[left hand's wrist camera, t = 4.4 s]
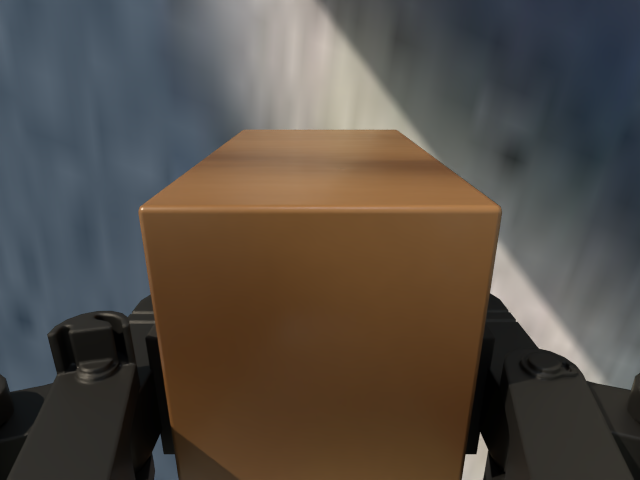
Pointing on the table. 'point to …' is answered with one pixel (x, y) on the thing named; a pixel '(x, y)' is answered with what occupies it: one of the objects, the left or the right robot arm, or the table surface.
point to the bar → (320, 307)
